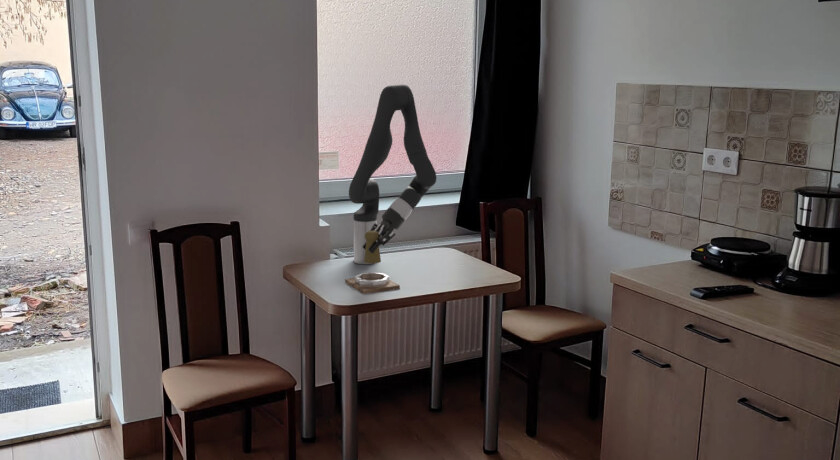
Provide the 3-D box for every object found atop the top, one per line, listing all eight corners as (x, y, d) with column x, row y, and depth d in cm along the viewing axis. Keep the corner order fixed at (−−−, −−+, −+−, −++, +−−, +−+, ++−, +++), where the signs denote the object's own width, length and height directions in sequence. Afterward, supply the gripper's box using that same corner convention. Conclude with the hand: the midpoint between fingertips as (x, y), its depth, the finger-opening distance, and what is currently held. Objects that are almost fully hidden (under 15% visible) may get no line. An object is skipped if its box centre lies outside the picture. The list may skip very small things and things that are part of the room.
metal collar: (351, 280, 280) (351, 274, 280) (379, 276, 286) (379, 271, 285) (364, 288, 270) (364, 282, 270) (393, 284, 276) (393, 278, 275)
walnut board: (345, 282, 282) (345, 279, 281) (379, 277, 288) (379, 274, 288) (363, 293, 268) (363, 290, 268) (399, 288, 275) (399, 285, 275)
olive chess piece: (378, 263, 273) (378, 233, 270) (361, 263, 274) (361, 232, 272) (382, 259, 279) (382, 229, 276) (366, 258, 280) (366, 229, 277)
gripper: (381, 203, 282) (351, 239, 279) (399, 210, 270) (368, 248, 267) (394, 216, 285) (365, 252, 282) (413, 223, 273) (382, 261, 270)
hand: (367, 250), depth 274 cm, fingers closed on olive chess piece, 4 cm apart
